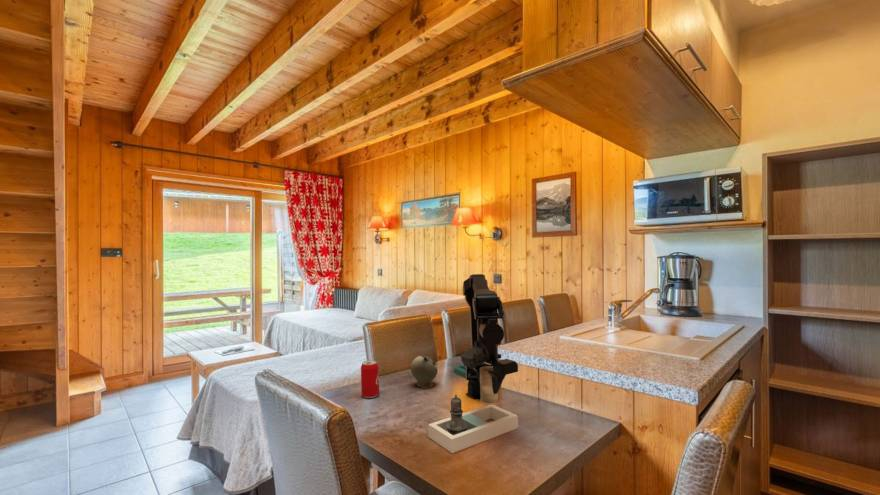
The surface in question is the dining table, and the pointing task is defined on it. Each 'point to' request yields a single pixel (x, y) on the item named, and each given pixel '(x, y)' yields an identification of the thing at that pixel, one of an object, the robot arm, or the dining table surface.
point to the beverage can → (370, 379)
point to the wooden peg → (487, 386)
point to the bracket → (460, 370)
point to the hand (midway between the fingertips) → (489, 391)
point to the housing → (474, 428)
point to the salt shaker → (456, 417)
